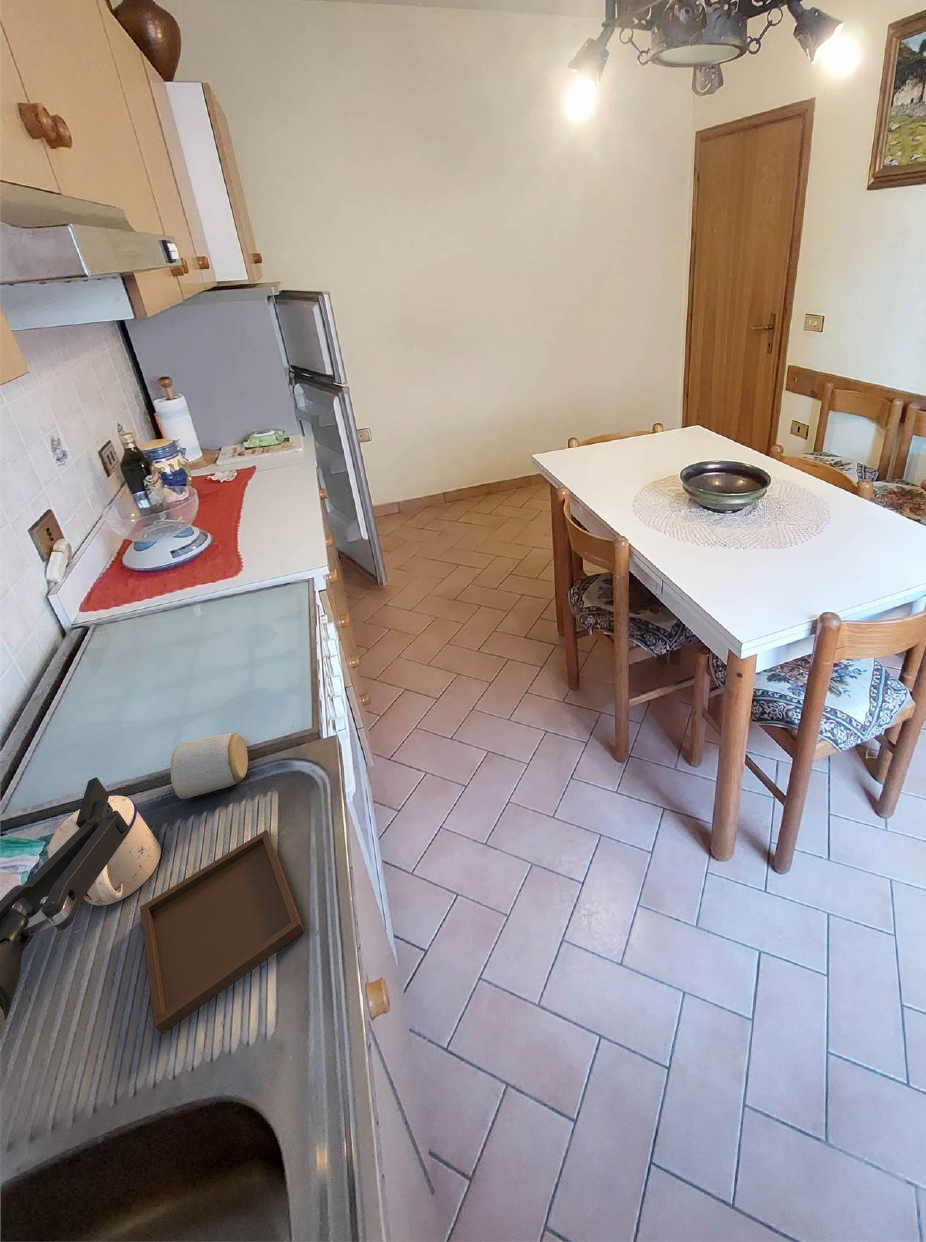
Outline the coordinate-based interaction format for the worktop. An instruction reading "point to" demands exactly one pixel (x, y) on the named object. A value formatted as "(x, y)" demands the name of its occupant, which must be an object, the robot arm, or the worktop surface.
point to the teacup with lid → (118, 855)
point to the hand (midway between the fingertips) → (22, 824)
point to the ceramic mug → (208, 764)
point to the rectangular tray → (216, 928)
